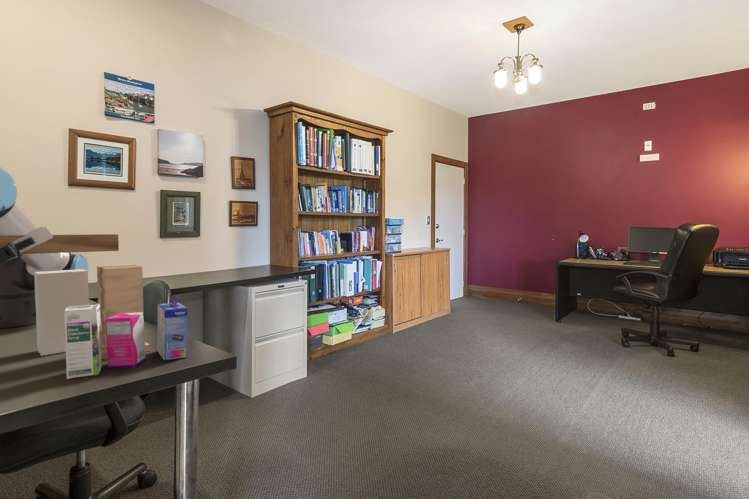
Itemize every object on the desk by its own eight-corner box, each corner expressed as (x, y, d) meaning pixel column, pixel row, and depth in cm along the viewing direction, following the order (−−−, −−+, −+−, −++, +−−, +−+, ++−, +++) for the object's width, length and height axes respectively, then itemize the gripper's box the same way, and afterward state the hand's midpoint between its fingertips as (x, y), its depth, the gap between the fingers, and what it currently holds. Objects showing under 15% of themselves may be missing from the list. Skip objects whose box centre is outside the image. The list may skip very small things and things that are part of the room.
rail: (-5, 254, 87) (-6, 235, 87) (114, 250, 103) (113, 234, 103) (-4, 255, 84) (-4, 235, 84) (118, 250, 100) (118, 234, 100)
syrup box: (65, 379, 84) (63, 310, 83) (71, 370, 89) (68, 305, 88) (99, 375, 86) (96, 307, 86) (102, 366, 92) (100, 302, 91)
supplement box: (120, 360, 96) (118, 312, 95) (146, 359, 97) (145, 312, 96) (106, 368, 90) (104, 317, 90) (134, 368, 91) (132, 317, 90)
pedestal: (37, 350, 103) (34, 272, 102) (85, 342, 110) (82, 269, 109) (41, 356, 99) (37, 274, 98) (90, 347, 106) (87, 270, 105)
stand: (94, 350, 103) (91, 266, 102) (137, 342, 110) (135, 263, 109) (104, 359, 96) (100, 269, 95) (150, 350, 103) (147, 266, 102)
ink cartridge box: (189, 357, 98) (188, 298, 97) (164, 362, 95) (162, 300, 94) (180, 347, 106) (179, 292, 105) (156, 351, 103) (155, 294, 102)
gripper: (-106, 282, 70) (42, 216, 84) (-98, 273, 82) (31, 217, 96) (-72, 316, 73) (65, 247, 87) (-68, 303, 85) (52, 244, 99)
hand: (47, 232), depth 92 cm, fingers closed on rail, 4 cm apart
